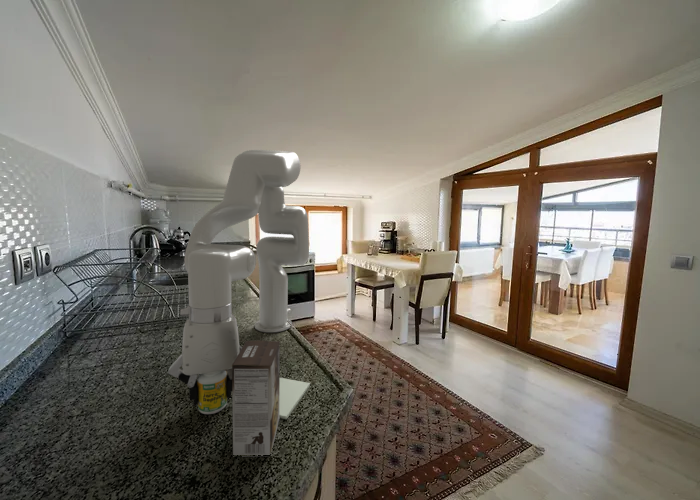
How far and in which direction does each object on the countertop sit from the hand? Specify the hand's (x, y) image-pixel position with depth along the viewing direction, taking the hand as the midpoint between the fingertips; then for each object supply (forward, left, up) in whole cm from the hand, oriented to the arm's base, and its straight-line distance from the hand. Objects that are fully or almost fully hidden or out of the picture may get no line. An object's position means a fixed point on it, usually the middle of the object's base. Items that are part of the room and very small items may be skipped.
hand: (212, 397), depth 60 cm
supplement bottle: (0, 0, -2) cm, 2 cm away
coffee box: (+5, +13, -2) cm, 14 cm away
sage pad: (-7, +10, -2) cm, 12 cm away
